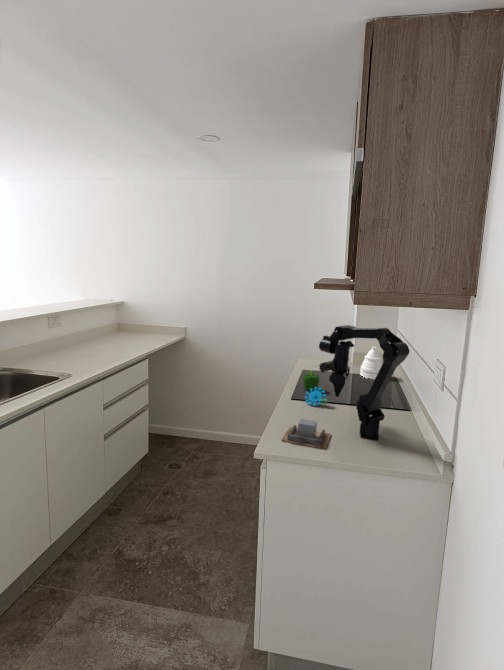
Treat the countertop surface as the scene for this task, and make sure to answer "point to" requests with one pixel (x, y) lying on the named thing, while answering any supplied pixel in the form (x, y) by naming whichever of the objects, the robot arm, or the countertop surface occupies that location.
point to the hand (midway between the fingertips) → (338, 393)
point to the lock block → (307, 428)
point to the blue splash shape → (316, 397)
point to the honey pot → (371, 364)
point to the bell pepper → (310, 381)
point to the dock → (318, 441)
